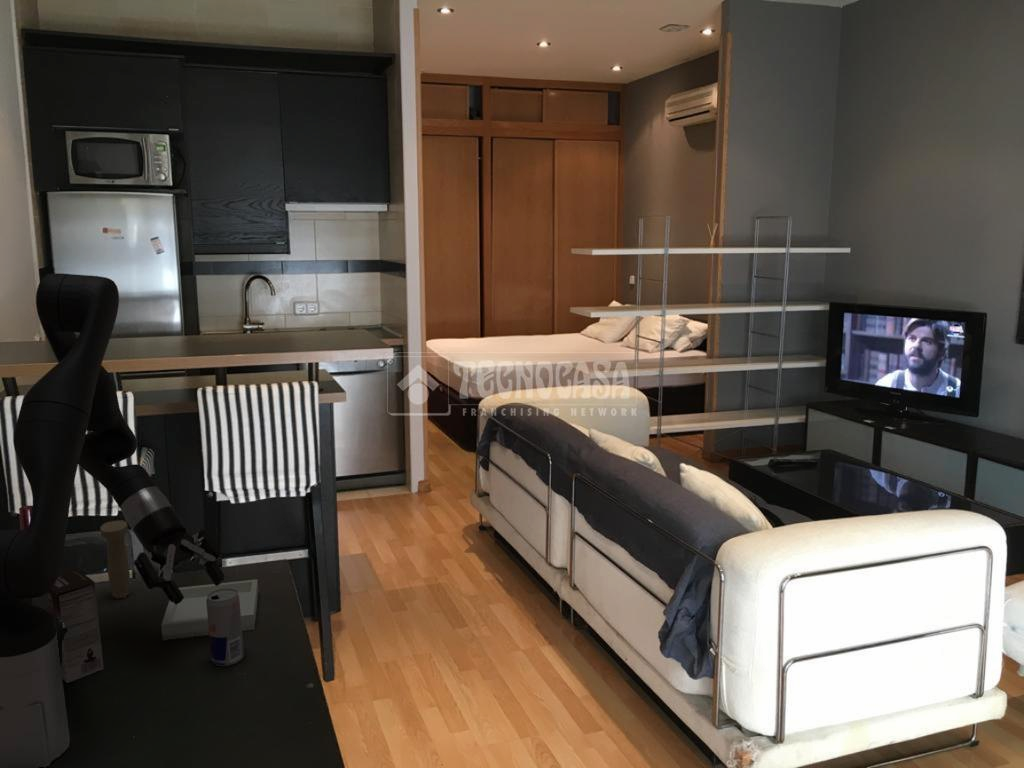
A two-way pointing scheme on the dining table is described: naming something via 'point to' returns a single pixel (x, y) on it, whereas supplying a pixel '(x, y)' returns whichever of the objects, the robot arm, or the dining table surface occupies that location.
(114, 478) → the robot arm
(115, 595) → the handle
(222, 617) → the energy drink
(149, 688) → the dining table surface
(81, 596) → the coffee box
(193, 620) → the tray
